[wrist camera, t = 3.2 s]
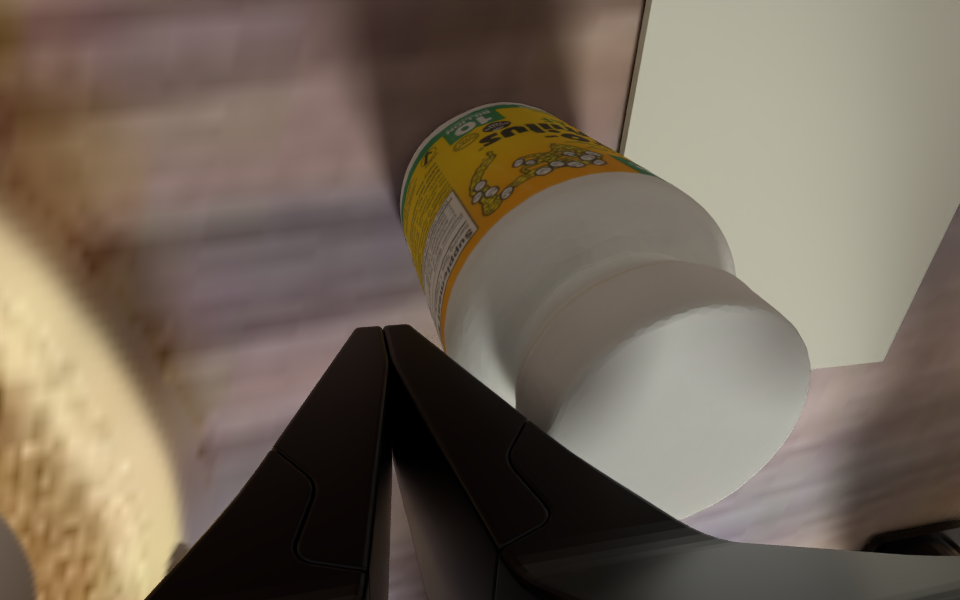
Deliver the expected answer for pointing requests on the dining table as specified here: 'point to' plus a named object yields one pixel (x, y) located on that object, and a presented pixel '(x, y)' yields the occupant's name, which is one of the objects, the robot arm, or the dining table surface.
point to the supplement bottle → (600, 305)
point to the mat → (809, 149)
